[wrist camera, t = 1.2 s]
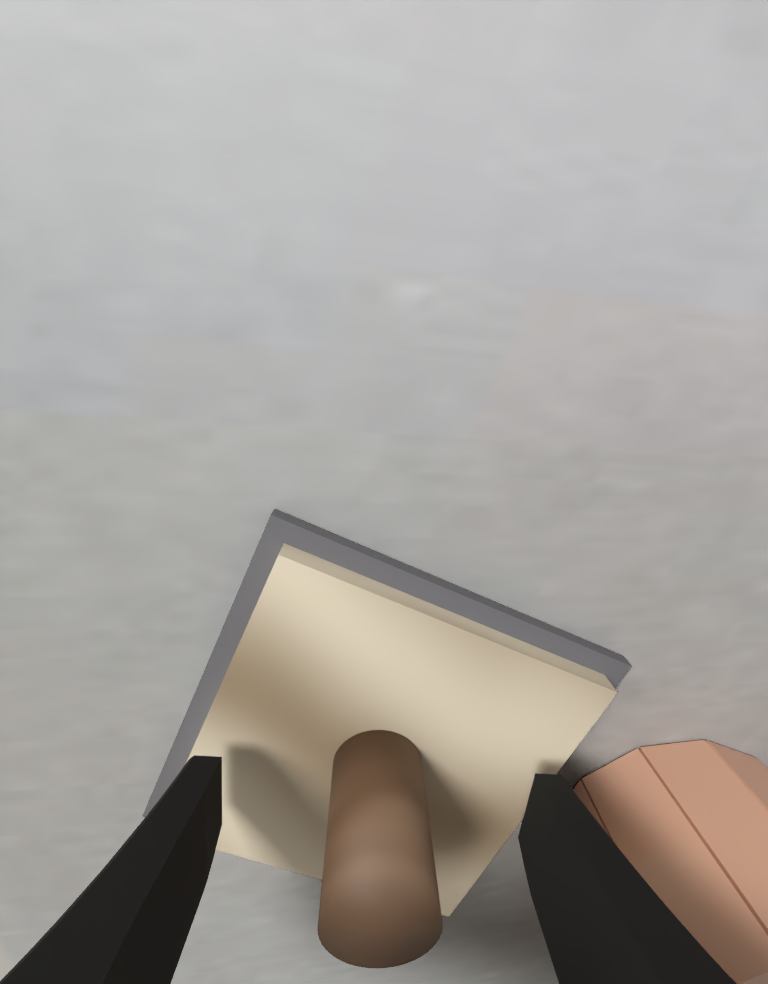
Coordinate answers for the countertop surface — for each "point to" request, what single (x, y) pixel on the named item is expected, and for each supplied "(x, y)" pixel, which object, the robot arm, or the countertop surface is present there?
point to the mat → (380, 570)
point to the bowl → (695, 841)
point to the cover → (383, 749)
